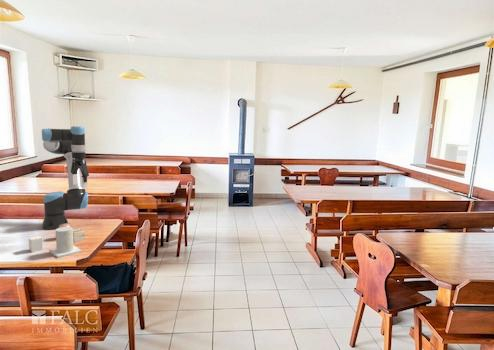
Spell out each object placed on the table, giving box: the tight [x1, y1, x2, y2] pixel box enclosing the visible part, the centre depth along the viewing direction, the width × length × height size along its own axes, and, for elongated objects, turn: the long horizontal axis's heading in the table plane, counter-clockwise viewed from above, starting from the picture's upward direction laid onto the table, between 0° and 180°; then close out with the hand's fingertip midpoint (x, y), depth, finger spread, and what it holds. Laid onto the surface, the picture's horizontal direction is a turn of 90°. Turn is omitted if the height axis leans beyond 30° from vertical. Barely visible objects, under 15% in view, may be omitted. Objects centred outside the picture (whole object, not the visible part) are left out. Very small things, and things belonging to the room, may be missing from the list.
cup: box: [55, 226, 75, 253], centre depth 174 cm, size 8×8×12 cm
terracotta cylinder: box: [59, 222, 71, 228], centre depth 196 cm, size 6×6×8 cm
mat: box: [48, 245, 83, 259], centre depth 175 cm, size 12×12×1 cm
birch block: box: [73, 228, 86, 244], centre depth 193 cm, size 6×6×6 cm
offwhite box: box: [28, 235, 44, 253], centre depth 176 cm, size 5×5×7 cm
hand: (80, 185), depth 198 cm, fingers open, 13 cm apart
